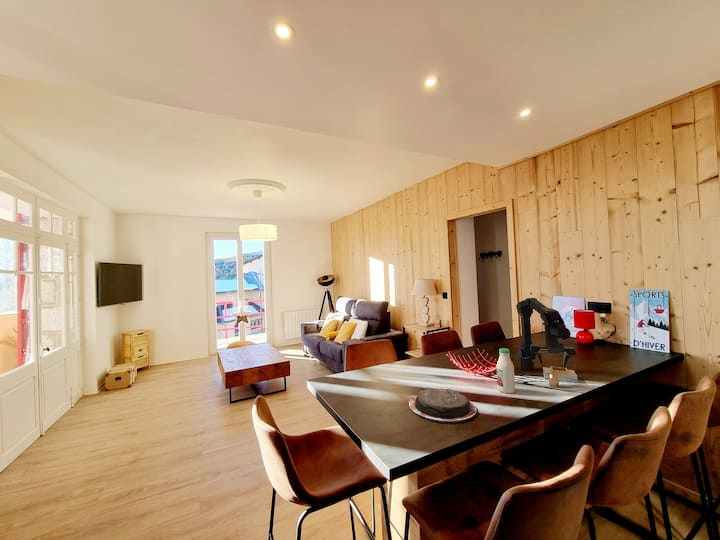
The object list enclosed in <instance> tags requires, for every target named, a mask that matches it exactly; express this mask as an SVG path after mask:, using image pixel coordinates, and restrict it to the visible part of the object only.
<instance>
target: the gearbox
mask: <svg viewBox="0 0 720 540" xmlns="http://www.w3.org/2000/svg"><path fill="white" fill-rule="evenodd" d="M542 373H543V377H544V380H547V381H549V373H557V374H558V380H559V382H564V383H565V382H566V383H574V384H578V383H579V382H578V375H577V374H576V371H575V370H572V369H568V368H567V367H565V368H564V367H560V366H549V367H544V366H543V367H542Z"/></svg>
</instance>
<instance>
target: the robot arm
mask: <svg viewBox="0 0 720 540" xmlns="http://www.w3.org/2000/svg"><path fill="white" fill-rule="evenodd" d="M515 307H516V311H517V314H518V316H519V317H520V326H521V327H520V328H521V329H520V330H521V340H522V341H521V343H520V344H519V346H518V348H519V349H518V350H517V353H516V358H517V359H518V360H519V364H520V366H519V369H520V371H527V372H534V370H535V366H534V365H535V364H534V363H535V362H534V361H536V360H537V358H538V360H539V362H540V364H541V366H543V358H542V353H541V351H543V352H547V353H548V354H556V355H559V354H560V353H563V364H562V368H566V366H567V364H568V361H569V359H570V358H572V357H573V356H577V350H576V349H575V347H573V346H565V343H560V341H559V340H560V339H561V340H563V341H565V340H568V339H570V338H571V334H572V333H571V331H570V329H569V328H568V327H566V324H565V321H564V319H563V318H562V315H561V313H560V312H559V311H558V310H557V309H554V308H549V307H548V306H546V305H545V304H543V303H542V302H540V301H539V300H538V299H537V298H536V297H527V298H525V299H524V300H521V301H518V302H517V304H516V305H515ZM534 311H535V312H536V313H538V314H539V317H540V319H541V320H542V323H541V324H542V326H544V346H540V344H536V343H533V341H532V328H531V326H532V325H531V317H532V315H533V314H534ZM533 360H534V361H533ZM543 367H544V366H543Z"/></svg>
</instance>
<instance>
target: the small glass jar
mask: <svg viewBox="0 0 720 540" xmlns="http://www.w3.org/2000/svg"><path fill="white" fill-rule="evenodd" d="M559 383H560V381H559V380H558V374H557V373H549V380H548V386H549V387H552V388H560V384H559Z"/></svg>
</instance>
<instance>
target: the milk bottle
mask: <svg viewBox="0 0 720 540" xmlns="http://www.w3.org/2000/svg"><path fill="white" fill-rule="evenodd" d="M498 351H499V357H498V359H497V363H496V384H497V385H496V388H497V391H499V392H501V393H502V394H503V393H505V394H515V392H516V381H515V367H514V366H515V365H514V363H513V361H512V359H511V357H510V355H511V353H510V352H511V351H510V349H509V348H505V347H504V348H503V347H500V348H499V349H498Z"/></svg>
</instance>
